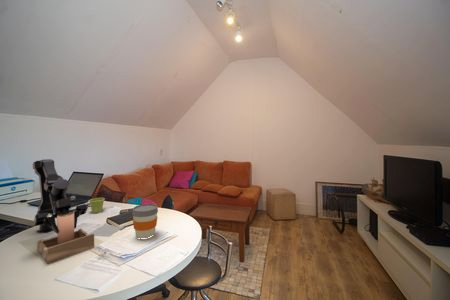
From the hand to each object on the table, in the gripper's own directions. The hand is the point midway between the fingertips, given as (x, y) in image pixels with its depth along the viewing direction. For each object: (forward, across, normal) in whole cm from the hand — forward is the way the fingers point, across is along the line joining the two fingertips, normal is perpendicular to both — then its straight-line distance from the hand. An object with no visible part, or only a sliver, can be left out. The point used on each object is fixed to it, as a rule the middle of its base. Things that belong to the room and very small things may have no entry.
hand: (66, 230), depth 88 cm
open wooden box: (+6, 0, +8) cm, 10 cm away
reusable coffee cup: (+17, +30, -3) cm, 34 cm away
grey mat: (+2, +19, +11) cm, 22 cm away
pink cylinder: (+3, 0, +5) cm, 6 cm away
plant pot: (-25, +29, +39) cm, 55 cm away
